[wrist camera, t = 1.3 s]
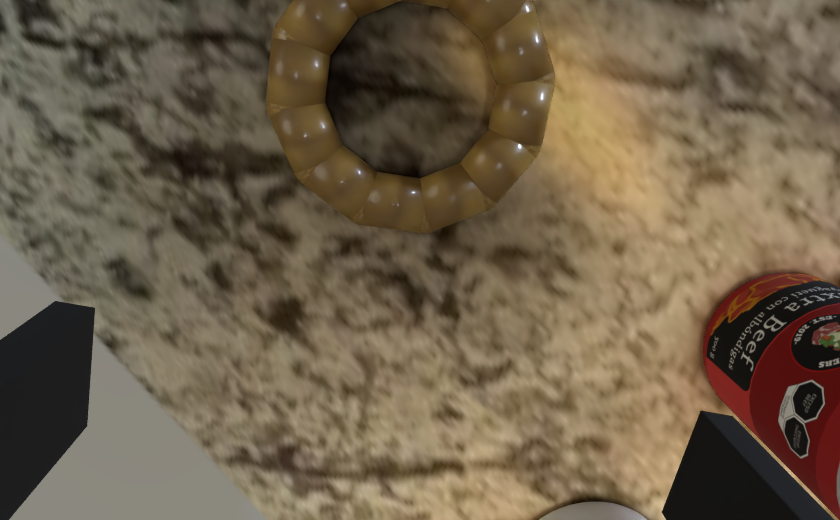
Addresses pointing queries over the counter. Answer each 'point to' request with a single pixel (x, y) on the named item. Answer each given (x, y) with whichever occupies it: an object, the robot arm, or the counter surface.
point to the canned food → (784, 372)
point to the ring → (395, 194)
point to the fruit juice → (593, 512)
